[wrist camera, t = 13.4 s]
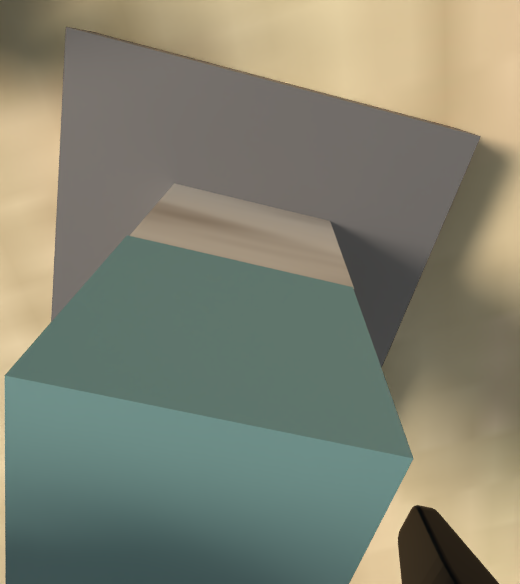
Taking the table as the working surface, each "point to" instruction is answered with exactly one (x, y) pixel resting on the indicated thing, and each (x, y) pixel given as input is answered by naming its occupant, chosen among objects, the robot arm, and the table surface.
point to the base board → (247, 164)
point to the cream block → (246, 233)
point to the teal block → (198, 429)
